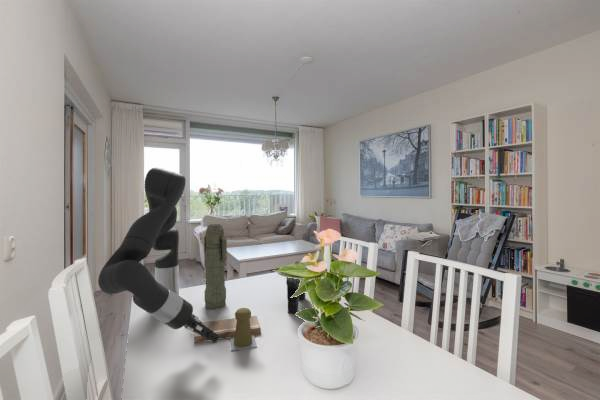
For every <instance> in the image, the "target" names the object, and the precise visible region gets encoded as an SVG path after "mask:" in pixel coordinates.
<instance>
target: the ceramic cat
mask: <svg viewBox="0 0 600 400" xmlns="http://www.w3.org/2000/svg"><path fill="white" fill-rule="evenodd" d="M295 264H296V265H298V264H299V261H295V263H294V265H295ZM299 283H300V280H299V279H294V278H288V277H287V276H286V292H287V293H286V298H287V313H288V314H290V315H296V314H295V313H296V312H297V313H298V312H299V302H300V301H305V300H306V293H303V294H301V295H299V296H297V297H293V298H290V297H291V296H292V295H293V294H294V293H295V291H296V290H297V289H298V287H299Z"/></svg>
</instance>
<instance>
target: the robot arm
mask: <svg viewBox="0 0 600 400" xmlns="http://www.w3.org/2000/svg"><path fill="white" fill-rule="evenodd" d="M145 175H146V176H145V179H144V192H145V197H146V200H147V204H148V212H146V213H145V214H142V216H140V217H138V218H137V219H136V220H135V221H134V222H133V223H132V224H131V226H130V228H129V229H128V231H127V233H126V234H125V237H124V238H123V240H122V242H121V244H120V245H119V247H118V248H117V249H116V250H115V252H113V254H112V255H111V257H110V258H109V259H108V260H107V261H106V263H105V264H104V266H103V267H102V269H100V273H99V275H98V280H97V282H98V287H99V289H100V290H101V291H102V292H103V293H105V294H108V295H113V294H119V293H122V292H126V291H127V292H130V293H131V294H133V295H132V302H133V303H134V304H135V305H136V306H137V307H139V308H140V309H142V310H143V311H145V312H146V313H148V314H149V315H151V316H152V317H153V318H155V319H156V320H158V321H159V322H161V323H163V324H164V325H166V326H167V327H169V328H171V329H172V330H178V329H181V328H183V327H184V329H186V330H187V331H191V332H192V333H194V334H197V335H201V336H203V337H204V338H205V339H206V340H208V341H210V342H211V343H217V342H218V340H219V339H218V338H219V335H217V334H216V333H214V332H213V330H211V329H209V328H207V327H206V324H205V323H204V322H205V321H202V320H201V319H199V316H196V315H195V314H194V313H193V311H194V306H193V305H192V303H190V302H189V301H187V300H186V299H185V298H183V297H181V296H180V283H179V281H180V280H179V279H180V272H179V271H180V270H179V246H180V245H179V243H180V241H179V240H180V235H179V231H178V229H177V228H176V227H174V226H176V224H177V219H178V210H177V207H176V206H177V204H178V203H179V201H180V199H181V198H182V196H183V193H184V191H185V187H186V182H187V181H186V177H185V176H184V175H183V174H181V173H178V172H175V171H172V170H170V169H169V170H168V169H165V168H161V167H152V168H150V169H149V170H148V171H147V174H145ZM152 249H153V250H154V251H169V250H170V251H169V252H168V253H167V254H165V255H163V256H161V257H158V258H156V259H155V261H154V275H153V274H152V273H151V272H150V271H149V269H148V268H147V267H146V266H145V265H144V264H142V263H141V261H142V260H144V259H147V257H148V255H149V254H150V252H151V251H152ZM201 323H202V324H201Z"/></svg>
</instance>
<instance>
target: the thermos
mask: <svg viewBox="0 0 600 400" xmlns="http://www.w3.org/2000/svg"><path fill="white" fill-rule="evenodd" d="M227 249H228V241H227V238H226V236H225V230H224V227H223V225H222V224H220V223H211V224H209V225H207V227H206V231H205V235H204V237H203V253H204V254H203V256H204V267H205V289H204V308H205V309H207V310H219V309H222V308H225V307H226V305H227V303H226V301H227V288H226V281H225V280H226V276H225V274H226V273H225V271H226V270H225V267H226V265H227V261H226V260H227V259H228V258H227Z"/></svg>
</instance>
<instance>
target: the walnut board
mask: <svg viewBox="0 0 600 400" xmlns="http://www.w3.org/2000/svg"><path fill="white" fill-rule="evenodd" d="M249 320H250V327H251V334H254V335H258V334H261V332H262V329H261V325H260V321H259V319H258V315H251V318H250V319H249ZM203 322H204V323H205V324H206V327H207V328H209V329H211V330H213V332H214V333H216V334H217V335H219V338H218V340H220V339H221V340H222V339H228V338H229V339H230V337H235V330H236V322H237V320H236V318H235V317H233V318H227V319H226V318H224V319H216V320H215V319H214V320H208V321H203ZM201 324H202V323H201ZM193 339H194V340H193V342H194V343H199V342H200V343H201V342H208V341H209V340H206V339H205V338H204V337H203V336H201V335H197V334H195V333H194V335H193Z"/></svg>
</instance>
